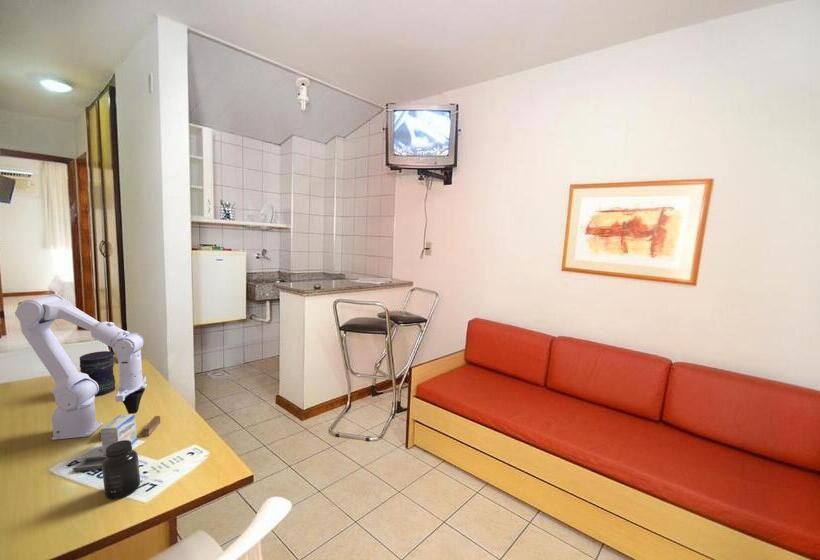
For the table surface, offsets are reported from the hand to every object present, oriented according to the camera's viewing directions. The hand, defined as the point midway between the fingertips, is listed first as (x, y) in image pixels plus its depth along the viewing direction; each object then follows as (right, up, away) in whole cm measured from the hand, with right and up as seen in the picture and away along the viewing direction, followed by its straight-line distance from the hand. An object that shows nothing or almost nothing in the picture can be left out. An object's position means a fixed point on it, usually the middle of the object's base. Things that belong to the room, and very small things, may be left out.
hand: (133, 412), depth 113 cm
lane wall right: (+6, -6, 0) cm, 8 cm away
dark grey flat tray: (+5, -8, -17) cm, 20 cm away
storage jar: (-33, -1, +25) cm, 42 cm away
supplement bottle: (+18, -10, -26) cm, 33 cm away
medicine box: (+4, -7, -10) cm, 13 cm away
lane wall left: (-5, -6, -3) cm, 8 cm away
